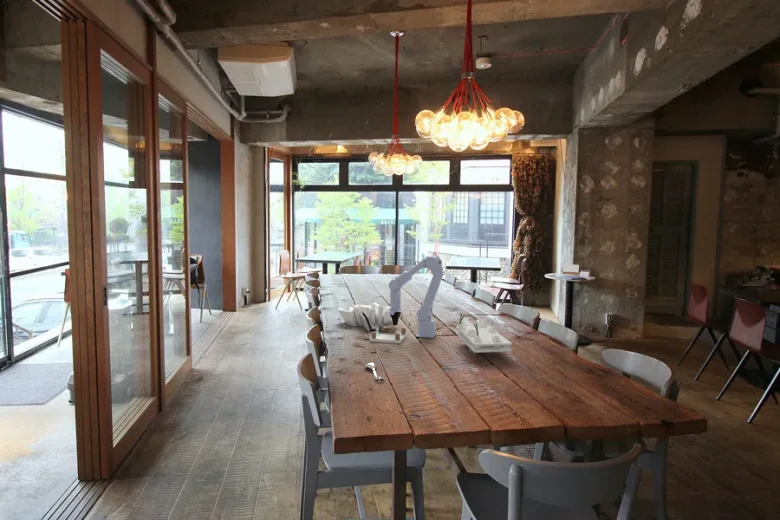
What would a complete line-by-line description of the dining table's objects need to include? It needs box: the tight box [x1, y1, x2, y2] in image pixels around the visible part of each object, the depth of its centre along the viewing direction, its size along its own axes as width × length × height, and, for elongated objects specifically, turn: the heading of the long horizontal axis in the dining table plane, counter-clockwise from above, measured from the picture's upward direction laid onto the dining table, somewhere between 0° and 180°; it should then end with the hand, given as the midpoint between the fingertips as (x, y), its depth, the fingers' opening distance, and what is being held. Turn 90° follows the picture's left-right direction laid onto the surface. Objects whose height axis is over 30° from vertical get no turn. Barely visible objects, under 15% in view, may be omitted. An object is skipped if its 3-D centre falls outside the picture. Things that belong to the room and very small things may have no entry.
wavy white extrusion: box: [337, 302, 392, 327], centre depth 288 cm, size 35×16×10 cm, turn 107°
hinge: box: [359, 312, 377, 332], centre depth 273 cm, size 17×5×10 cm, turn 16°
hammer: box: [377, 325, 397, 333], centre depth 257 cm, size 9×3×3 cm, turn 74°
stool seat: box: [369, 327, 408, 344], centre depth 250 cm, size 16×16×4 cm
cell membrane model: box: [455, 313, 513, 357], centre depth 225 cm, size 35×21×17 cm, turn 5°
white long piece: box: [364, 362, 384, 380], centre depth 193 cm, size 20×4×5 cm
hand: (395, 325), depth 262 cm, fingers closed
